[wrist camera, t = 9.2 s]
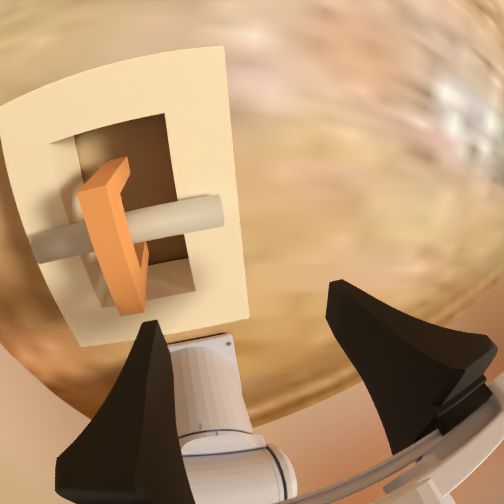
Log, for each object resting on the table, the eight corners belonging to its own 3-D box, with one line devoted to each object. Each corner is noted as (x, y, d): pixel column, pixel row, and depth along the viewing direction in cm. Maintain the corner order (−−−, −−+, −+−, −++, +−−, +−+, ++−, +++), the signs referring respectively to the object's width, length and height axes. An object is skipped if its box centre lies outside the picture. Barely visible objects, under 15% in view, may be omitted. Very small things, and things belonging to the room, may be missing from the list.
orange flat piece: (148, 252, 17) (144, 312, 12) (130, 256, 17) (120, 316, 12) (127, 156, 14) (105, 185, 9) (106, 161, 14) (76, 192, 9)
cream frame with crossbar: (236, 283, 22) (255, 334, 18) (89, 310, 20) (77, 364, 15) (212, 58, 14) (230, 38, 9) (28, 104, 12) (-20, 111, 7)
